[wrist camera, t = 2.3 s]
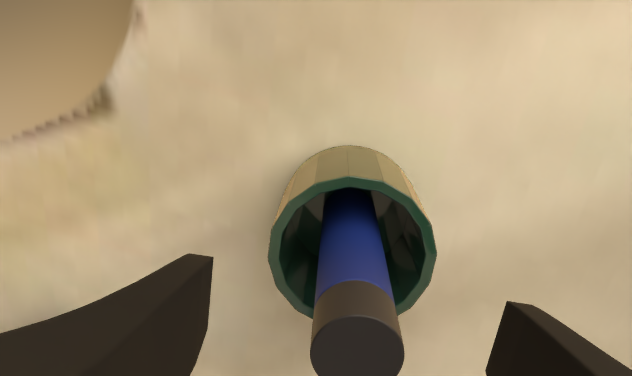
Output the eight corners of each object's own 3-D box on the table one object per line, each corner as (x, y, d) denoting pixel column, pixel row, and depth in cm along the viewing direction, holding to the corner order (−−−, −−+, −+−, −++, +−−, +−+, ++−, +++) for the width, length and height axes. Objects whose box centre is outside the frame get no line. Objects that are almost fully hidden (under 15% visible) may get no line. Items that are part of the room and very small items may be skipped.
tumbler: (427, 156, 18) (453, 191, 14) (400, 276, 19) (416, 339, 15) (292, 135, 18) (279, 165, 14) (276, 257, 19) (260, 315, 15)
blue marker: (379, 192, 18) (413, 323, 10) (370, 240, 18) (394, 401, 10) (327, 184, 18) (316, 308, 10) (319, 232, 18) (304, 387, 10)
